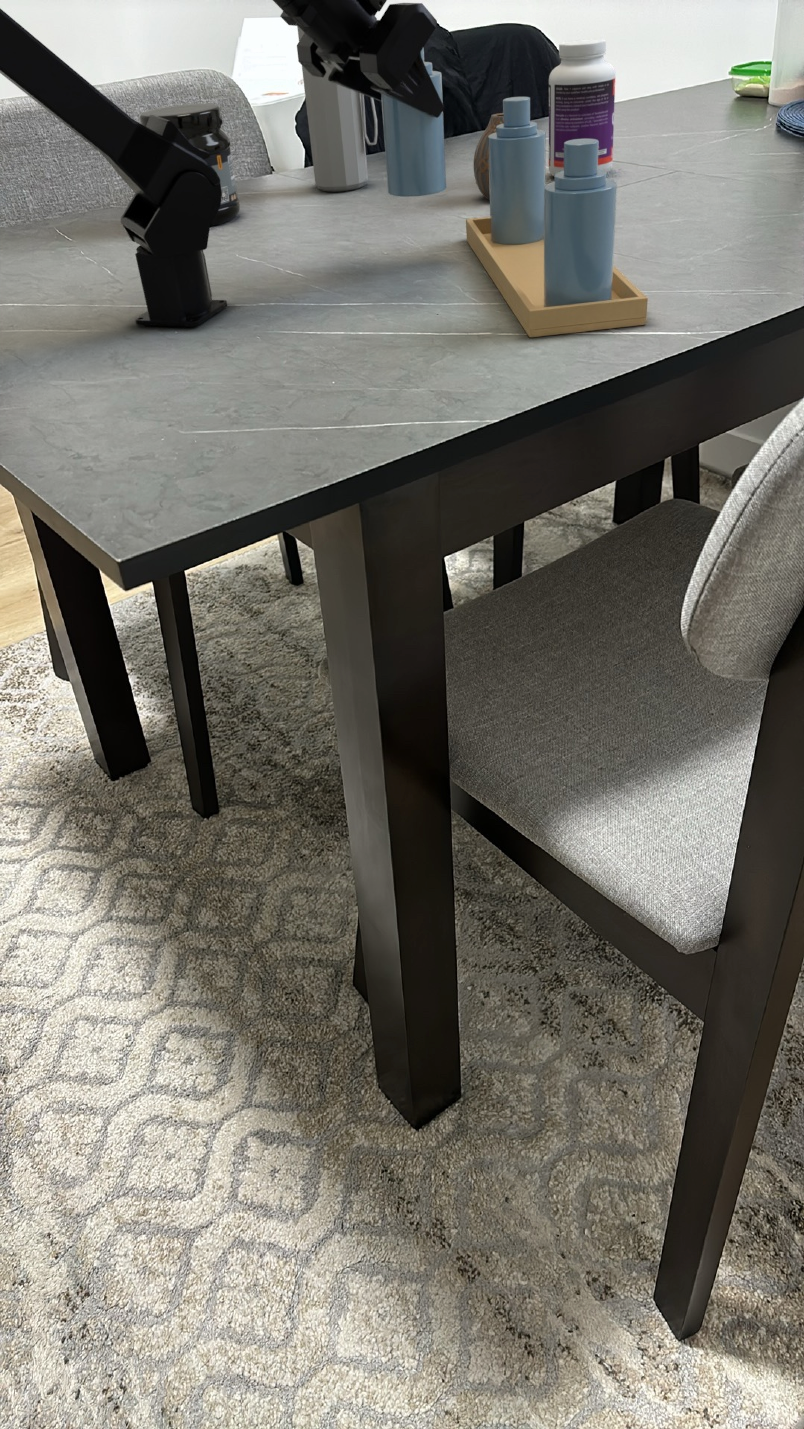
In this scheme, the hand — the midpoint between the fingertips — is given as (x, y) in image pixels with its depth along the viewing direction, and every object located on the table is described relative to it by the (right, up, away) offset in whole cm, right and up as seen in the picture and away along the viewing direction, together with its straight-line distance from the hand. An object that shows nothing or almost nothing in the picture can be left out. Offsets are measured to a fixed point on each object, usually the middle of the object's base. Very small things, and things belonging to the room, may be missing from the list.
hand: (425, 110), depth 96 cm
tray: (+11, -15, +1) cm, 19 cm away
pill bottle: (+21, +13, +37) cm, 44 cm away
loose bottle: (-1, -6, +4) cm, 7 cm away
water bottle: (-9, +14, +42) cm, 45 cm away
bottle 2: (+12, -22, -9) cm, 27 cm away
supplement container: (-27, +5, +33) cm, 43 cm away
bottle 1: (+10, -7, +11) cm, 16 cm away
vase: (+10, +7, +30) cm, 32 cm away
